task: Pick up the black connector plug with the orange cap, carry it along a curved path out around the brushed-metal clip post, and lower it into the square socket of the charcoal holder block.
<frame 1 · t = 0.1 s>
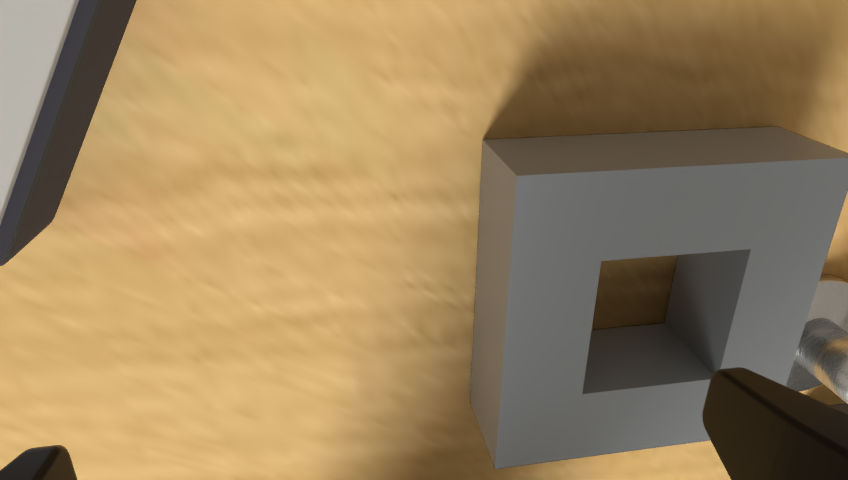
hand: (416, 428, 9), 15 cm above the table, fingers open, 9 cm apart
holder: (614, 272, 26), on the table
clip post: (799, 330, 29), on the table
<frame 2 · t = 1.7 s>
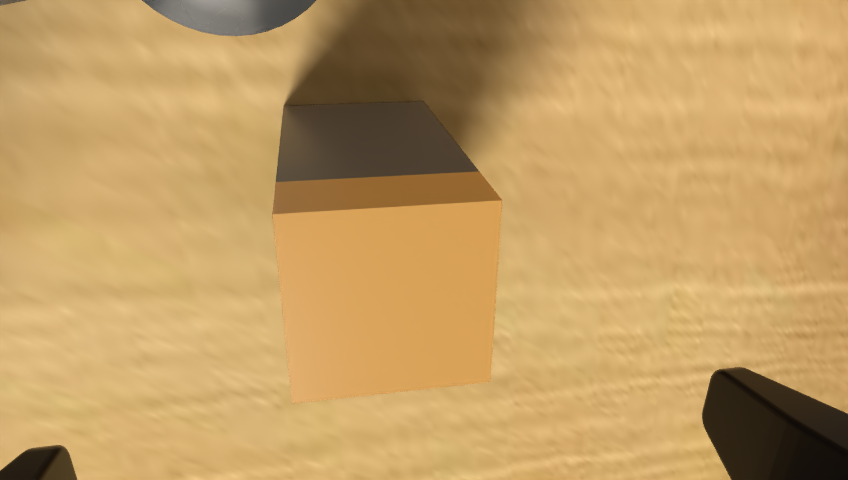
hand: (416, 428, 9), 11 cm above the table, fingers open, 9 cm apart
connector: (357, 169, 19), on the table
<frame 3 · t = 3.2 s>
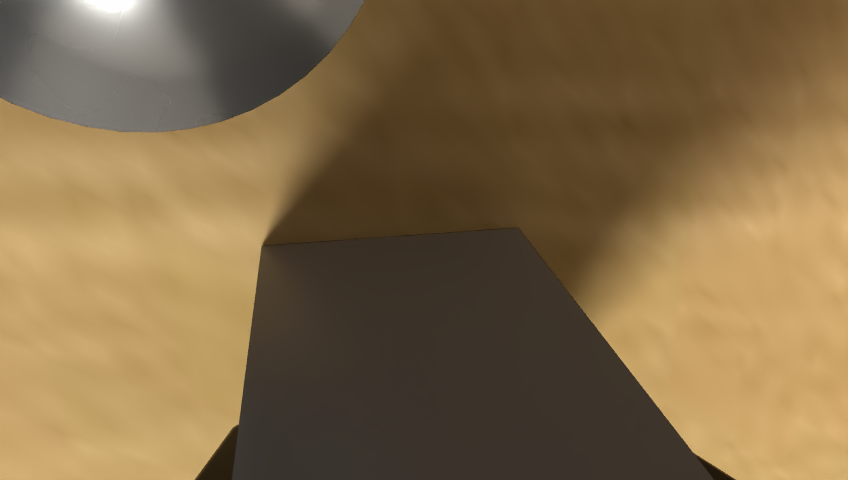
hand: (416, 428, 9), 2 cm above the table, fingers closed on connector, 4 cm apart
connector: (396, 344, 10), on the table, touching gripper
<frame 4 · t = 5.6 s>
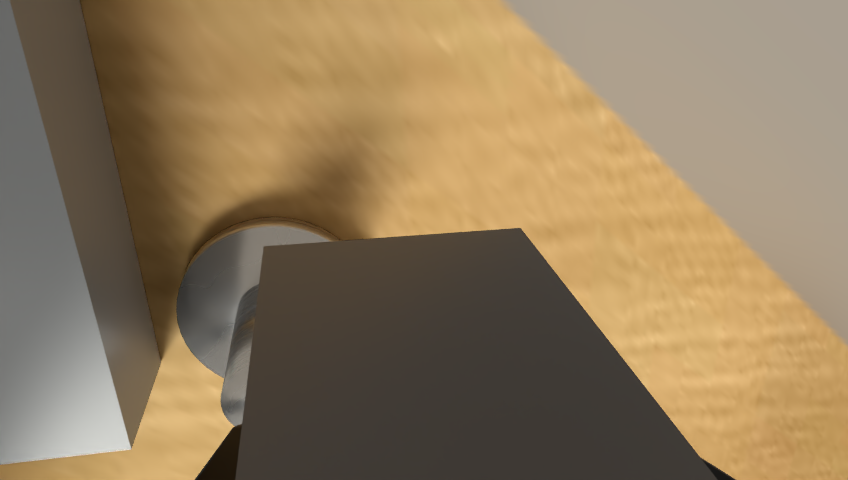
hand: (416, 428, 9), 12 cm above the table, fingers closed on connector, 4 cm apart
connector: (397, 344, 10), point 10 cm above the table, touching gripper
clip post: (277, 300, 21), on the table
when the fingers open (5 cm above the table, at t = 8.0 s): connector drops 3 cm, resting in holder.
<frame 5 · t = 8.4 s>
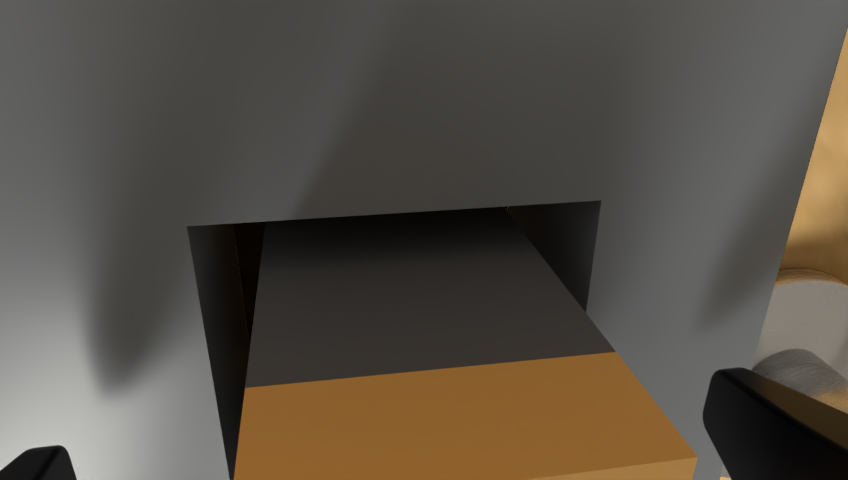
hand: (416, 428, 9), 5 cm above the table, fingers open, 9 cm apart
holder: (377, 262, 13), on the table
connector: (376, 262, 13), resting in holder
clip post: (758, 369, 16), on the table
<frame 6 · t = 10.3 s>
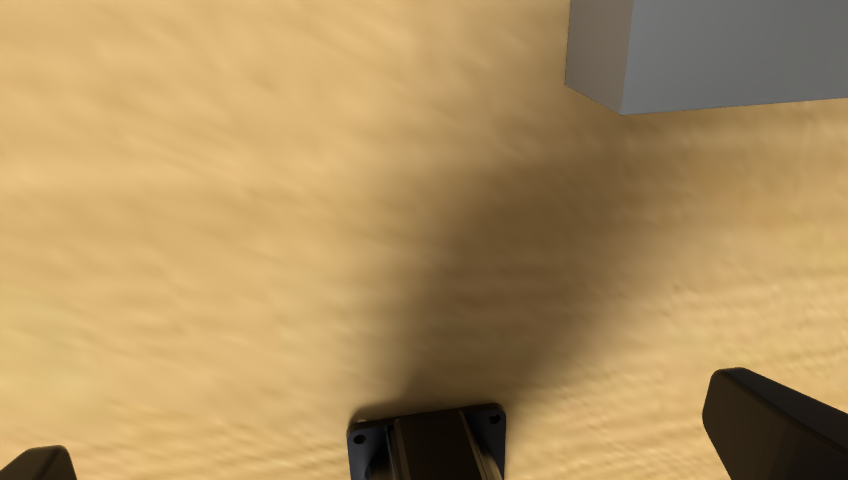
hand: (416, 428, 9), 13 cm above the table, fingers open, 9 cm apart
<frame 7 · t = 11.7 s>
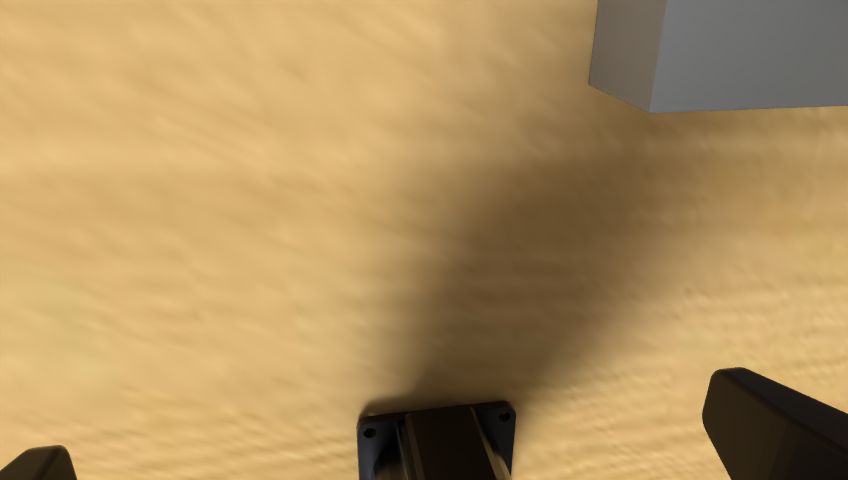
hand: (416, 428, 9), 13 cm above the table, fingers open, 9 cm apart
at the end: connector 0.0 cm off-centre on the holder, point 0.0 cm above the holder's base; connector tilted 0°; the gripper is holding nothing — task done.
